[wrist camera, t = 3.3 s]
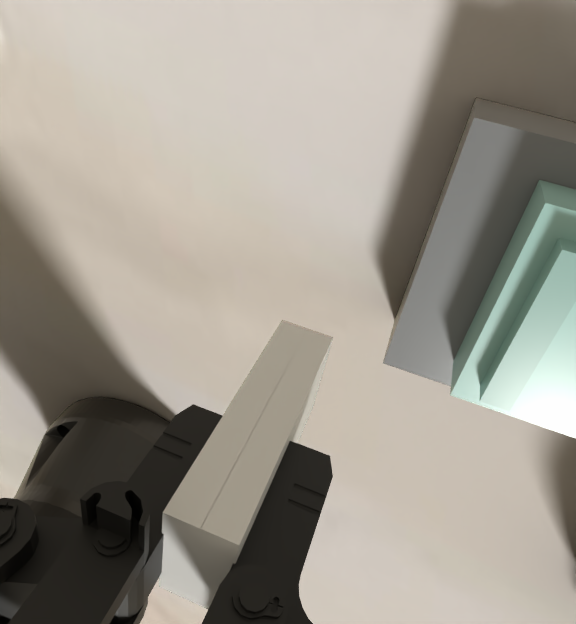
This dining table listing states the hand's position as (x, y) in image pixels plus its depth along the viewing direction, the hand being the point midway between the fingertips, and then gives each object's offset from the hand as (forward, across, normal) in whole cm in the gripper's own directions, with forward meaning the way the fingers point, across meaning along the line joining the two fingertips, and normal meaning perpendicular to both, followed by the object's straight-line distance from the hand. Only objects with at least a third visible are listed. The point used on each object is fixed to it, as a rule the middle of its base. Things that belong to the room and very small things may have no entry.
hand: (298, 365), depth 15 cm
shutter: (+10, +10, 0) cm, 14 cm away
